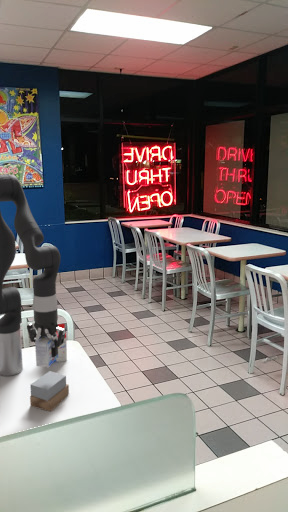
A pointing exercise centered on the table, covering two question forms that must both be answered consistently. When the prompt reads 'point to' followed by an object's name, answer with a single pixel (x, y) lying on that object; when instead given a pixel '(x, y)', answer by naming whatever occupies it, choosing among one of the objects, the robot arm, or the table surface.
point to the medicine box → (44, 352)
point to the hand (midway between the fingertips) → (47, 354)
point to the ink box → (62, 348)
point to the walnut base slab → (50, 403)
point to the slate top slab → (48, 385)
